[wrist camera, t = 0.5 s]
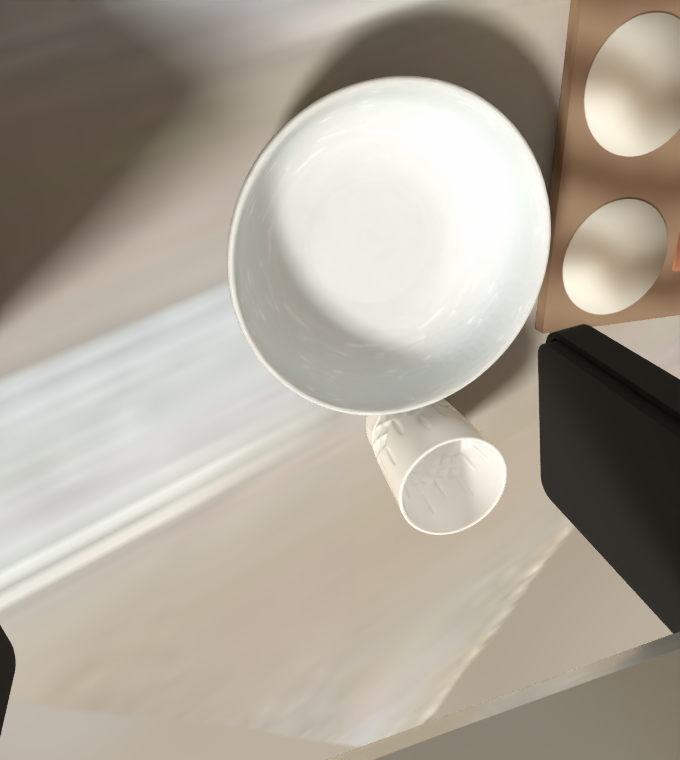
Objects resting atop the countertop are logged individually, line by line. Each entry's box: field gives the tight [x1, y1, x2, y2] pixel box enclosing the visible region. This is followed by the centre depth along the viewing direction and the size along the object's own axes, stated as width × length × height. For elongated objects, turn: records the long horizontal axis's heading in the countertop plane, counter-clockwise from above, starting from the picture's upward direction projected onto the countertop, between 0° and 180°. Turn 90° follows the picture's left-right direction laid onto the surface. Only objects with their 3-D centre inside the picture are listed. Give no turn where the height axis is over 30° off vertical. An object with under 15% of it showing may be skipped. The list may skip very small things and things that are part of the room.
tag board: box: [535, 0, 680, 333], centre depth 48 cm, size 23×14×2 cm, turn 2°
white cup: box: [366, 399, 507, 535], centre depth 48 cm, size 8×8×10 cm
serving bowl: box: [227, 76, 551, 415], centre depth 43 cm, size 21×21×7 cm
